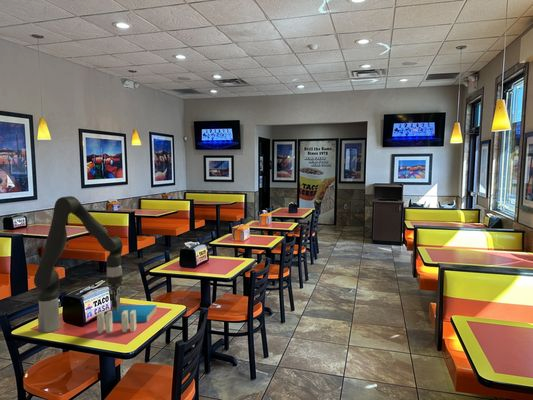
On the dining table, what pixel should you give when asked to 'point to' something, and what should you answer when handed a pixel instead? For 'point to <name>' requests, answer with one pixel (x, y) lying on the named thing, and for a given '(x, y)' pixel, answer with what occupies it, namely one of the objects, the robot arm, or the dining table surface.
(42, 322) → the robot arm
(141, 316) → the book
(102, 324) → the domino
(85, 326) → the dining table surface
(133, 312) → the domino
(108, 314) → the domino
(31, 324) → the dining table surface
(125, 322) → the domino
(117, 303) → the domino
